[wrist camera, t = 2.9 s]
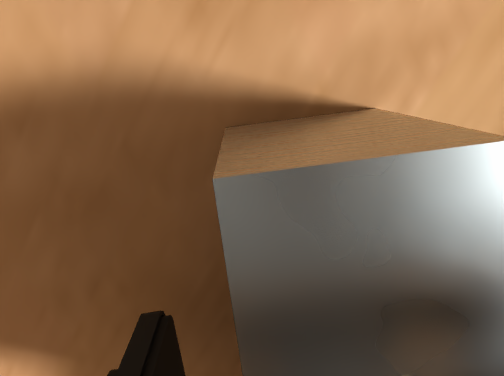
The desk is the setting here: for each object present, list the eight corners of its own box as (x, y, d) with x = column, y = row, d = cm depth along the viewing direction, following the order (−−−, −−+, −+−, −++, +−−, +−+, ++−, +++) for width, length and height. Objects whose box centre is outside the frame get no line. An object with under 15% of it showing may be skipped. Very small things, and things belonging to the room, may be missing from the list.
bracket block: (225, 127, 11) (211, 178, 5) (373, 107, 11) (518, 139, 5) (271, 453, 14) (295, 718, 8) (389, 438, 14) (497, 691, 8)
